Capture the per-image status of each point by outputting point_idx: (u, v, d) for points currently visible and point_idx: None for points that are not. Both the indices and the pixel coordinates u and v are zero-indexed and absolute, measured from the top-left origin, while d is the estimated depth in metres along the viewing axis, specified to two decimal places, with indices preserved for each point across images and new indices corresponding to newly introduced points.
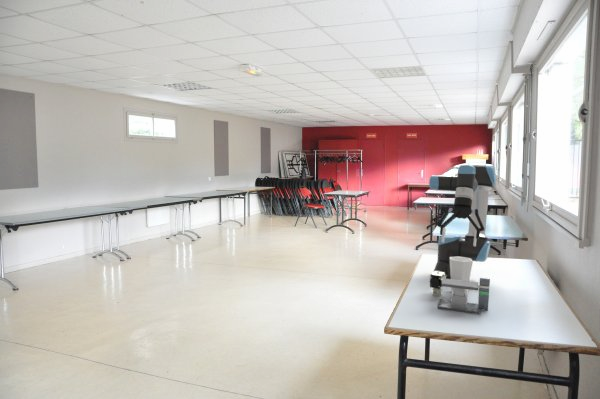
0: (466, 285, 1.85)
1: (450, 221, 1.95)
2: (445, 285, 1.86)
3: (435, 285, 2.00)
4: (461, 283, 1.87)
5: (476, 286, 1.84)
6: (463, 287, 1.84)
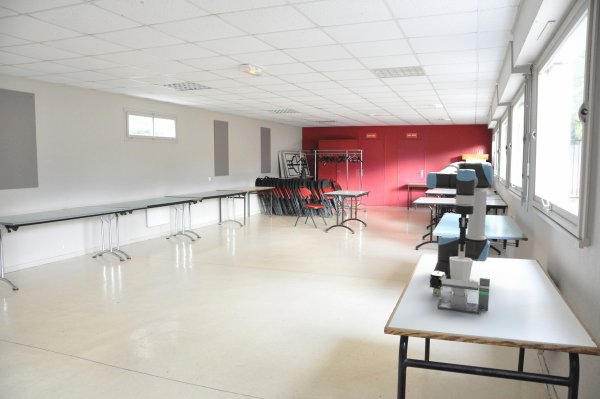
0: (466, 285, 1.85)
1: None
2: (445, 285, 1.86)
3: (435, 285, 2.00)
4: (461, 283, 1.87)
5: (476, 286, 1.84)
6: (463, 287, 1.84)
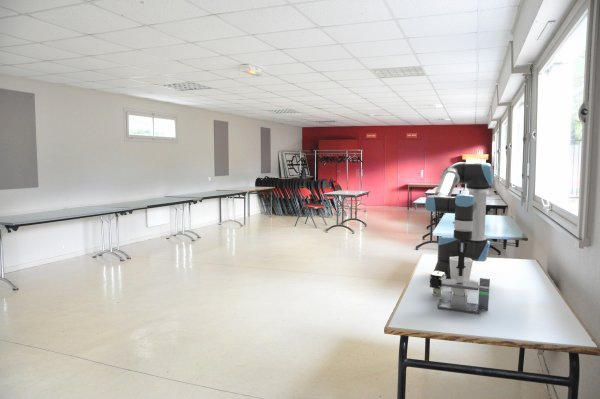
0: (466, 285, 1.85)
1: None
2: (445, 285, 1.86)
3: (435, 285, 2.00)
4: (461, 283, 1.87)
5: (476, 286, 1.84)
6: (463, 287, 1.84)
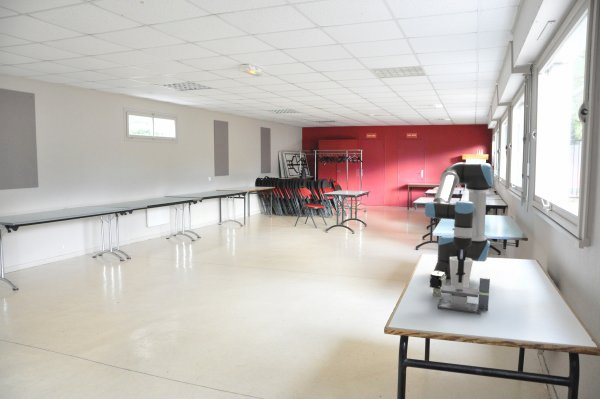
0: (466, 291, 1.86)
1: None
2: (445, 292, 1.87)
3: (435, 285, 2.00)
4: (461, 290, 1.88)
5: (476, 293, 1.84)
6: (463, 294, 1.84)
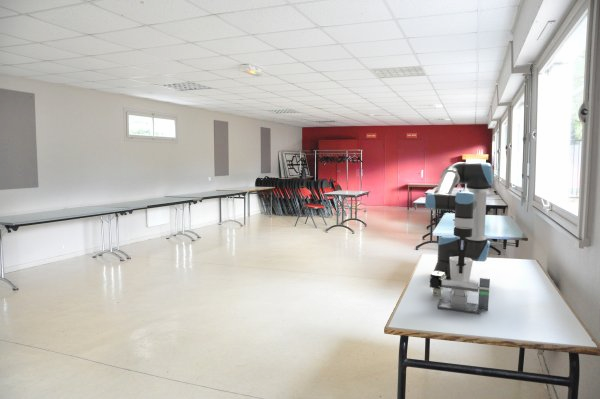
0: (466, 286, 1.85)
1: None
2: (445, 286, 1.87)
3: (435, 285, 2.00)
4: (461, 284, 1.87)
5: (476, 287, 1.84)
6: (463, 288, 1.84)
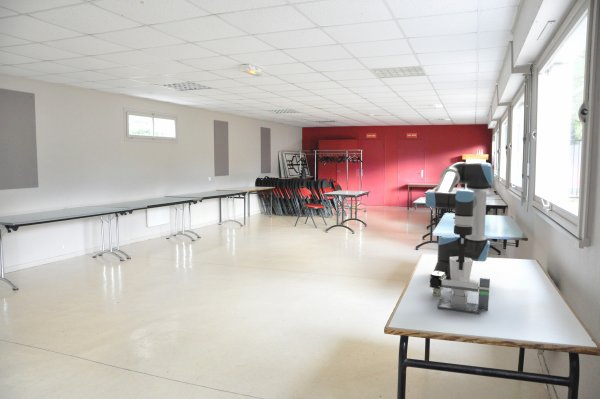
0: (466, 286, 1.85)
1: None
2: (445, 286, 1.87)
3: (435, 285, 2.00)
4: (461, 284, 1.87)
5: (476, 287, 1.84)
6: (463, 288, 1.84)
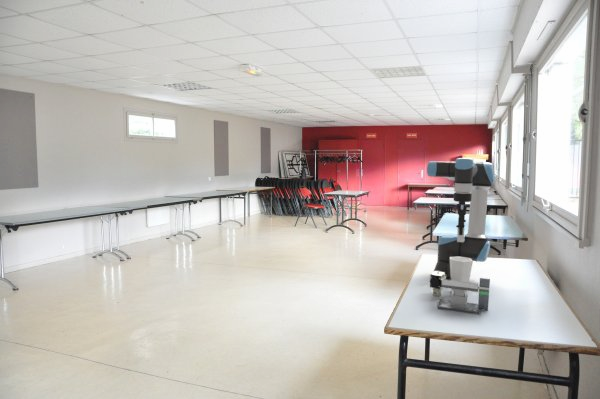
0: (466, 286, 1.85)
1: None
2: (445, 286, 1.87)
3: (435, 285, 2.00)
4: (461, 284, 1.87)
5: (476, 287, 1.84)
6: (463, 288, 1.84)
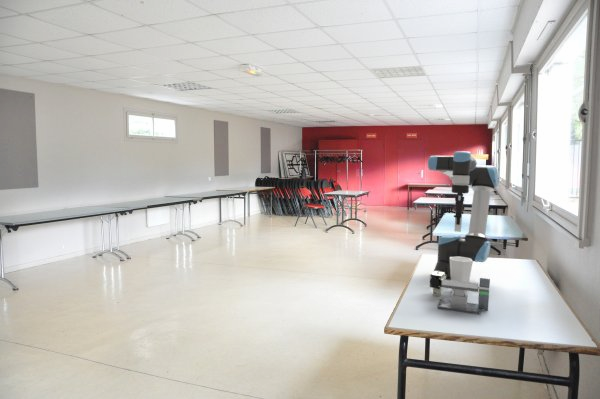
0: (466, 286, 1.85)
1: None
2: (445, 286, 1.87)
3: (435, 285, 2.00)
4: (461, 284, 1.87)
5: (476, 287, 1.84)
6: (463, 288, 1.84)
